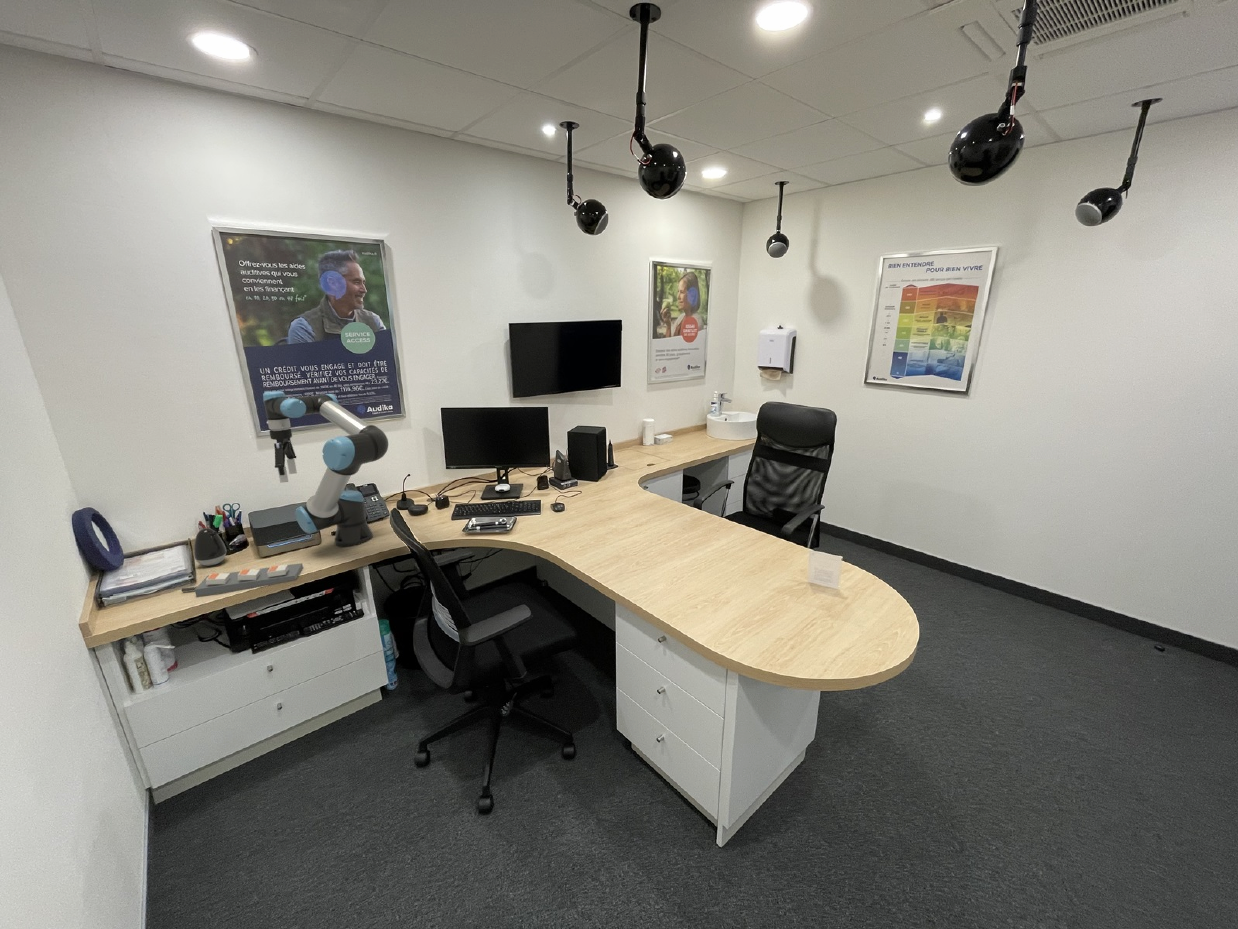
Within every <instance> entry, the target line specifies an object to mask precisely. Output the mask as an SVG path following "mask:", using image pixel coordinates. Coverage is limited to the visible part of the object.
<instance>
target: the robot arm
mask: <svg viewBox="0 0 1238 929" xmlns="http://www.w3.org/2000/svg"><path fill="white" fill-rule="evenodd" d="M262 397H263V398H262V399H263V404H264V408H265V409H264V410H265V416H266V420H267V421H266V424H267V425H268V429H270V430H269V437H270V439H271V440H273V441H274V440H276V443H273V446H274V468H275V469H277V471H278V472H277V473H278V478H279V482H280V483H281V484H282V483H289V477H288V476H289V475H292V474H293V475H294V474H297V473H298V472H297V467H296V466H297V465H296V461H295V459H297V455H296V453H295V450H294V447H293V444H292V440H291V438H292V437H293V434H292V429H291V422H290V418H291V419H293V418H294V419H296V418H298V419H299V418H301V417H303V416H307V415H313V414H314V415H315V414H319V415H320V416H322V417H324V418H325V419H326V420H327V421H329V422H330V423H332V424H334V425H335V426H336V427H338V428H339V429H341V430H343V432H345V433H347V434H348V435H343V436H342V435H339V436H336V437H333V438H330V439H328V440H327V441H326V442H325V443H324V445H323V447H322V451H321V453H322V460H323V462H324V464H325V466H326V467H327V468H326V470H325V472H324V475H323V476H322V478H321V481H320V483H319V485H318V487H317V490H316V491H315V493H314V495H312V496H310V497H309V498H308V500H307V501H306V503H305V505H302V506H301V505H300V506H299V507H297V508H296V509H295V519H296V522H297V523H298V525H299V527H300V528H301V529H302V531H303V532H305V533H306V534H312V533H317V532H319V531H323V530H325V529H328V528H330V527H334V526H336V531H335V535H334V545H335V546H336V547H338V548H349V547H356V546H359V545H362V544H365V543H368V542H369V541H370V540H372V538H374V535H373V532H372V529H371V527H370V526H369V524H368V523H367V519H366V518H367V517H366V516H367V515H366V509H365V504H364V503H365V500H364V496H363V493H362V492H360V491H358V490H349V489H347V490H345V488H346V486H347V484H348V482H349V481H350V478H351V476H353V475H355V474H357V473H358V472H359V471H360V468H361V466H362V465H363V464H368V463H372V462H376V461H379V460H380V459H382V458H383V457H384V456H385V454H387V452H388V451H389V450H388V449H389V439H388V437H387V435H386V434H385V432H384V431H383V430H382V429H381V428H379V427H378V426H376V425H374V424H369V423H368V422H365V421H364V420H362V419H361V418H359V417H357V416H356V415H355V414H354V413H352V412H350V411H349V410H347V409H346V408H345V407H343V406H341V405H340V404H339V401H338V398H336V396H335V395H334V394H332V393H327V394H326V393H322V394H321V393H320V394H316V395H308V396H297V397H287V396H286V394H285V392H283V391H279V390H278V391H277V390H276V391H275V390H274V391H266V392H264V393H263V394H262ZM286 458H287V459H286ZM286 461H287V462H286ZM286 463H287V467H286V465H285V464H286ZM287 468H288V471H287ZM288 474H289V475H288Z"/></svg>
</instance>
